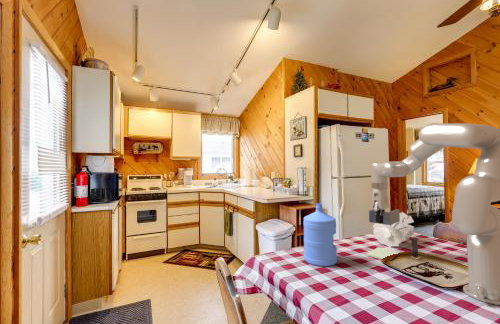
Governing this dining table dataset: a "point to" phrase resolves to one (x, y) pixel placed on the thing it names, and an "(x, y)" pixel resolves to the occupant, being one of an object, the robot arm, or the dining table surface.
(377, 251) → the board
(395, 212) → the c link
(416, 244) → the stand
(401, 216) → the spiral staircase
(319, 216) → the water jug
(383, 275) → the dining table surface
